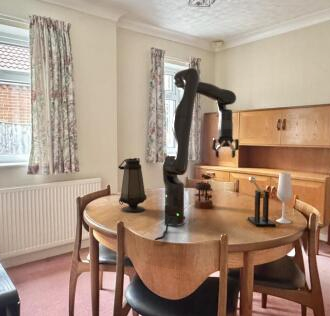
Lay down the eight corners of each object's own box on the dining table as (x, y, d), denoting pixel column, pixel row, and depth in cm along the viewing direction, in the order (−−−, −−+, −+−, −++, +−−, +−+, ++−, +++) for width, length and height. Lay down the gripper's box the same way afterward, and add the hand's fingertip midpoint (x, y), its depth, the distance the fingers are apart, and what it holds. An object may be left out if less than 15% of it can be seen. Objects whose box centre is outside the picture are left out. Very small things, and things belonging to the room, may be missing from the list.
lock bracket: (247, 219, 150) (248, 188, 149) (265, 219, 150) (266, 188, 148) (256, 226, 138) (257, 193, 137) (275, 226, 138) (276, 193, 137)
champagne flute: (272, 220, 148) (274, 172, 146) (283, 218, 150) (284, 172, 148) (283, 224, 142) (285, 174, 140) (294, 222, 144) (296, 173, 142)
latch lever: (247, 181, 157) (248, 175, 156) (253, 181, 157) (254, 175, 156) (258, 198, 142) (260, 193, 141) (265, 198, 142) (266, 193, 141)
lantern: (128, 215, 159) (127, 159, 157) (112, 209, 171) (111, 158, 169) (153, 209, 171) (153, 157, 168) (137, 204, 183) (137, 156, 180)
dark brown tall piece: (204, 203, 186) (206, 171, 183) (217, 207, 177) (220, 175, 174) (186, 206, 178) (188, 173, 175) (199, 211, 169) (202, 177, 166)
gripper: (214, 128, 160) (213, 158, 161) (240, 128, 160) (240, 158, 161) (211, 128, 167) (210, 157, 169) (236, 128, 167) (235, 157, 168)
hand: (225, 157), depth 165 cm, fingers open, 8 cm apart
